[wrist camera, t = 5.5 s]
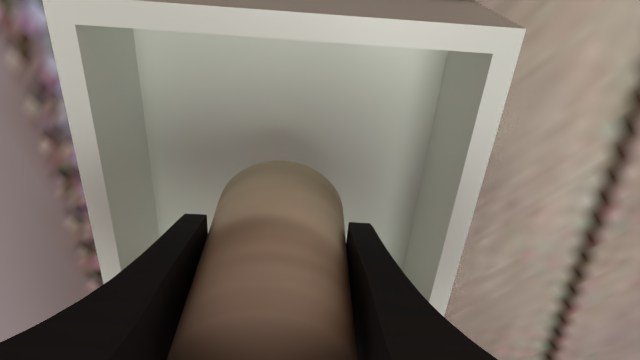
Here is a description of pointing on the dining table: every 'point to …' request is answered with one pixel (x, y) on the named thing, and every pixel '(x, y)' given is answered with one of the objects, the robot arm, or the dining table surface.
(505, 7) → the dining table surface
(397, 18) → the sage bin
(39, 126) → the dining table surface
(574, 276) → the dining table surface
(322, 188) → the birch cylinder
